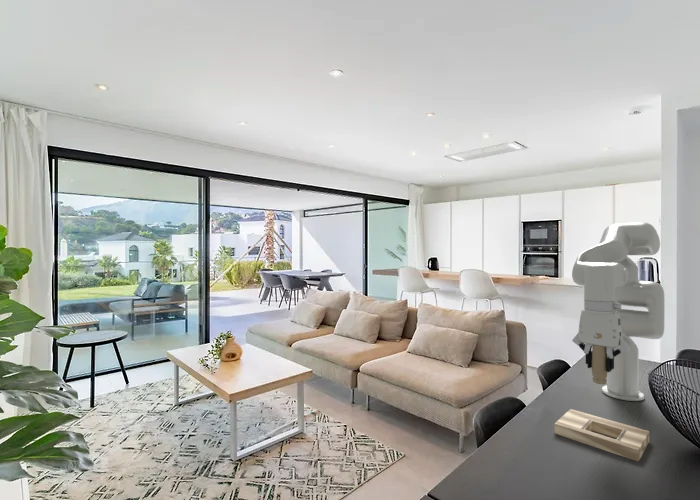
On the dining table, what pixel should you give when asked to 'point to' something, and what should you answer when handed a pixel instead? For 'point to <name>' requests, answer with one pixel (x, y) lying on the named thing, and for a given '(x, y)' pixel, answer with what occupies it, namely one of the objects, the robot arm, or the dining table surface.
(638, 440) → the board
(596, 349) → the handle
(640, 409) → the dining table surface
